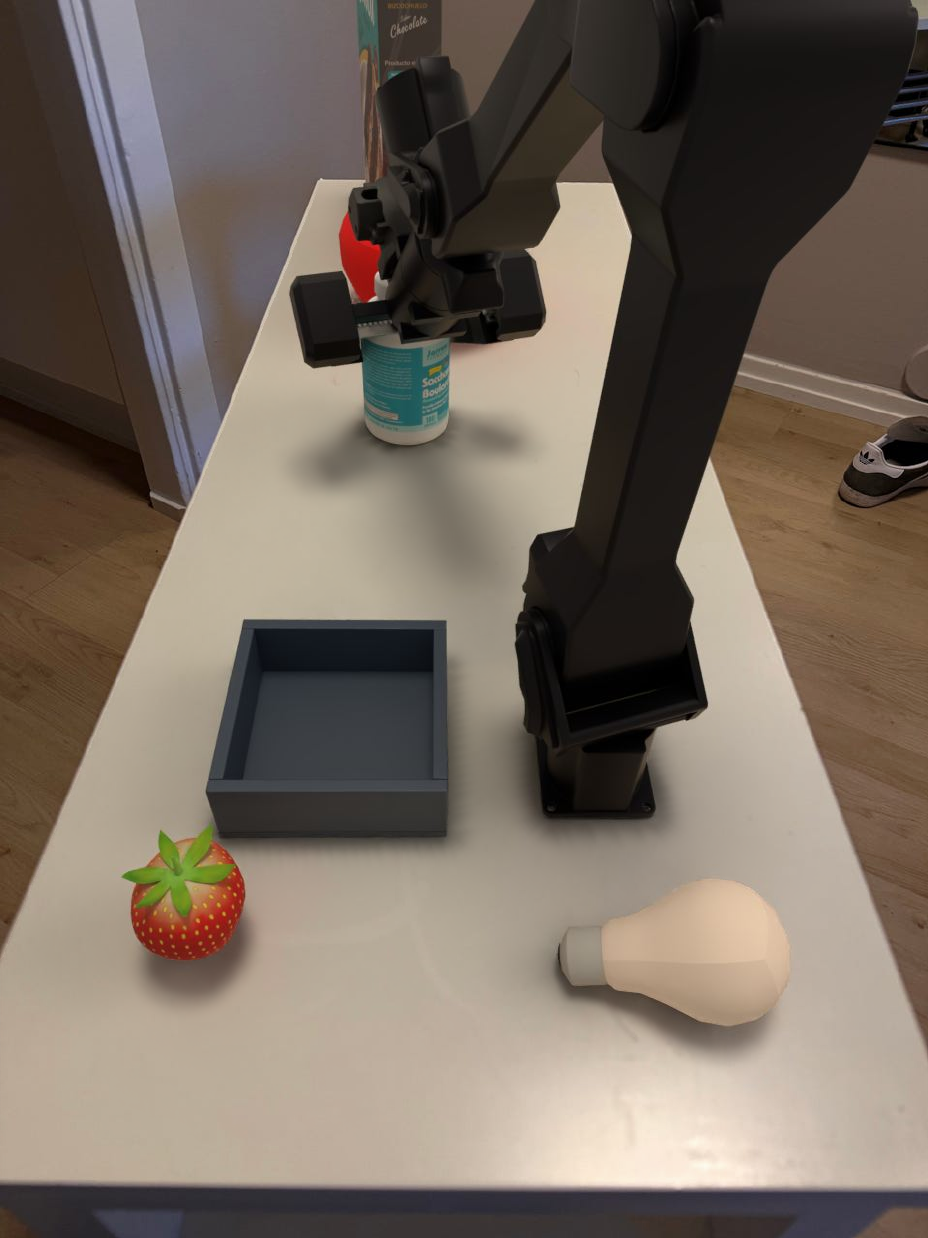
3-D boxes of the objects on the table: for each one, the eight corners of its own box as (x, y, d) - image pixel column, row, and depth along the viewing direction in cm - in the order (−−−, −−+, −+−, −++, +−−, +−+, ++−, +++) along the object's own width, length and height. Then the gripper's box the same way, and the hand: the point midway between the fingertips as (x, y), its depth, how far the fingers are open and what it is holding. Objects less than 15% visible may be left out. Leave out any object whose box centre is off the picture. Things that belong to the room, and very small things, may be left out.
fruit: (246, 991, 42) (218, 916, 37) (140, 989, 42) (95, 913, 37) (265, 889, 46) (242, 806, 40) (168, 886, 46) (131, 803, 40)
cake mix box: (366, 206, 113) (351, -89, 92) (412, 205, 114) (408, -89, 93) (386, 280, 98) (374, -53, 77) (439, 277, 99) (442, -53, 78)
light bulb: (541, 975, 38) (803, 966, 36) (547, 859, 44) (775, 844, 41) (566, 1059, 42) (807, 1056, 39) (569, 941, 47) (781, 932, 45)
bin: (446, 836, 49) (447, 791, 45) (219, 837, 48) (204, 792, 45) (445, 667, 57) (446, 619, 54) (253, 667, 57) (243, 618, 54)
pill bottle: (438, 454, 74) (439, 303, 65) (355, 443, 75) (344, 291, 66) (456, 408, 80) (460, 262, 70) (378, 398, 81) (371, 252, 71)
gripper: (546, 136, 60) (484, 235, 75) (277, 159, 56) (269, 260, 71) (579, 296, 61) (511, 363, 76) (315, 332, 56) (299, 395, 71)
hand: (401, 342), depth 73 cm, fingers open, 8 cm apart
